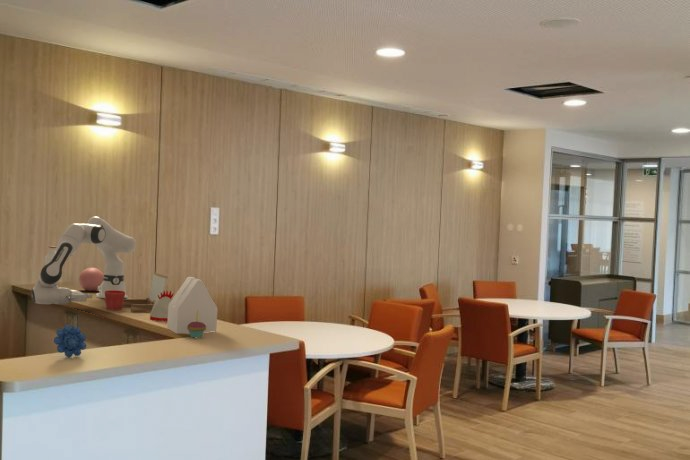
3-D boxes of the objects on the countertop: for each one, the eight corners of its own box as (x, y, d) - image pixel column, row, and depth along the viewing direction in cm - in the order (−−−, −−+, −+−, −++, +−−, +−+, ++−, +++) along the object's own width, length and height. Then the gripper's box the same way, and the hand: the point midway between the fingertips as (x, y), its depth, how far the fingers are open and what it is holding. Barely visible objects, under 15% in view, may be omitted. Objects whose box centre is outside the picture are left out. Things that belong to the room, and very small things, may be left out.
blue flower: (55, 360, 244) (57, 327, 244) (51, 356, 250) (53, 324, 249) (88, 358, 251) (90, 326, 251) (83, 354, 256) (85, 323, 256)
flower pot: (111, 310, 367) (112, 293, 367) (99, 308, 374) (100, 290, 374) (128, 309, 376) (129, 292, 376) (116, 307, 383) (117, 290, 382)
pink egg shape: (113, 292, 446) (114, 269, 446) (81, 292, 435) (82, 268, 435) (106, 289, 459) (108, 266, 459) (75, 289, 448) (77, 266, 448)
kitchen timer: (180, 321, 350) (182, 292, 350) (154, 321, 343) (156, 292, 343) (173, 316, 362) (174, 288, 362) (147, 317, 355) (148, 288, 355)
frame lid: (154, 272, 396) (155, 272, 396) (148, 297, 395) (149, 298, 395) (165, 276, 378) (167, 276, 379) (159, 302, 377) (161, 303, 378)
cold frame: (120, 306, 387) (120, 298, 387) (148, 305, 396) (149, 298, 396) (131, 312, 368) (131, 303, 368) (160, 311, 377) (161, 303, 377)
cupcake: (185, 335, 310) (186, 309, 310) (203, 335, 314) (205, 309, 314) (188, 339, 302) (190, 312, 302) (207, 338, 306) (209, 312, 306)
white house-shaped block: (176, 333, 314) (179, 279, 314) (167, 328, 327) (170, 276, 327) (216, 332, 324) (219, 280, 323) (205, 327, 337) (208, 277, 337)
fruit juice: (60, 289, 440) (63, 246, 440) (46, 290, 433) (49, 246, 433) (53, 288, 446) (56, 245, 446) (39, 288, 439) (42, 245, 439)
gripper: (69, 292, 352) (96, 292, 359) (61, 287, 369) (87, 288, 376) (68, 304, 352) (95, 304, 359) (60, 299, 369) (87, 299, 376)
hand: (91, 296), depth 368 cm, fingers closed
